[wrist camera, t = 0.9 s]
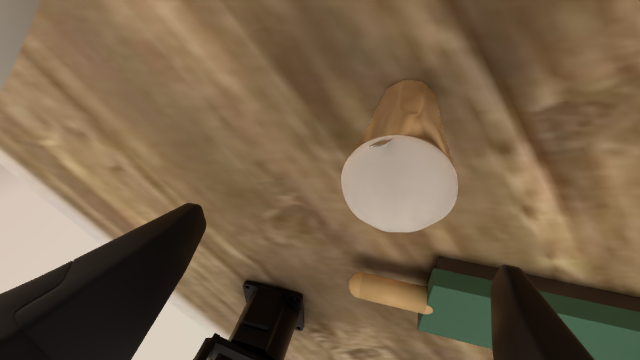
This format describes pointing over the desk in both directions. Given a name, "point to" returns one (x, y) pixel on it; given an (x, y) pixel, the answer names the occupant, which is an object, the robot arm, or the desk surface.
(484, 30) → the desk surface
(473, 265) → the brush
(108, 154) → the desk surface
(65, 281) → the robot arm
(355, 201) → the milkshake
